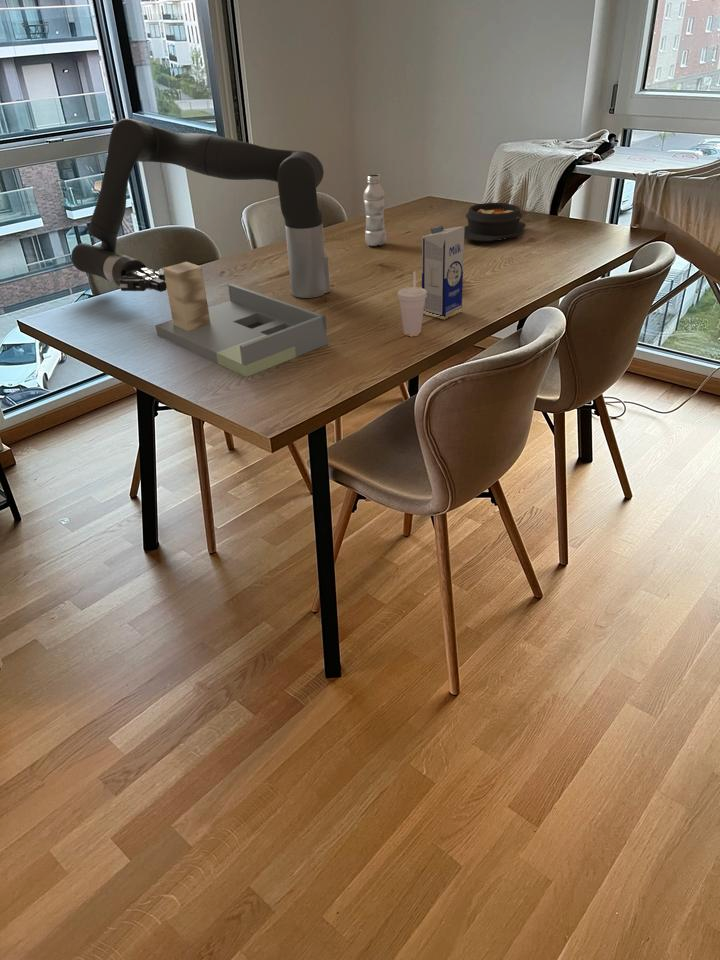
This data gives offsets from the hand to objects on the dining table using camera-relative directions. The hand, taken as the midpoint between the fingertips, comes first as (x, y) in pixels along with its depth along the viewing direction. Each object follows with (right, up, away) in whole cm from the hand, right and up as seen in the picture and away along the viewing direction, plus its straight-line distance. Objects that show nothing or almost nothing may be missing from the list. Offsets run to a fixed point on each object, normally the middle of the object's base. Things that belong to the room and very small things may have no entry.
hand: (163, 286), depth 175 cm
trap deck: (+19, -13, -5) cm, 23 cm away
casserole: (+86, +30, +58) cm, 108 cm away
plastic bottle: (+50, +26, +54) cm, 78 cm away
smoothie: (+57, -12, -6) cm, 59 cm away
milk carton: (+65, -5, +4) cm, 65 cm away
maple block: (+7, -9, -3) cm, 12 cm away
